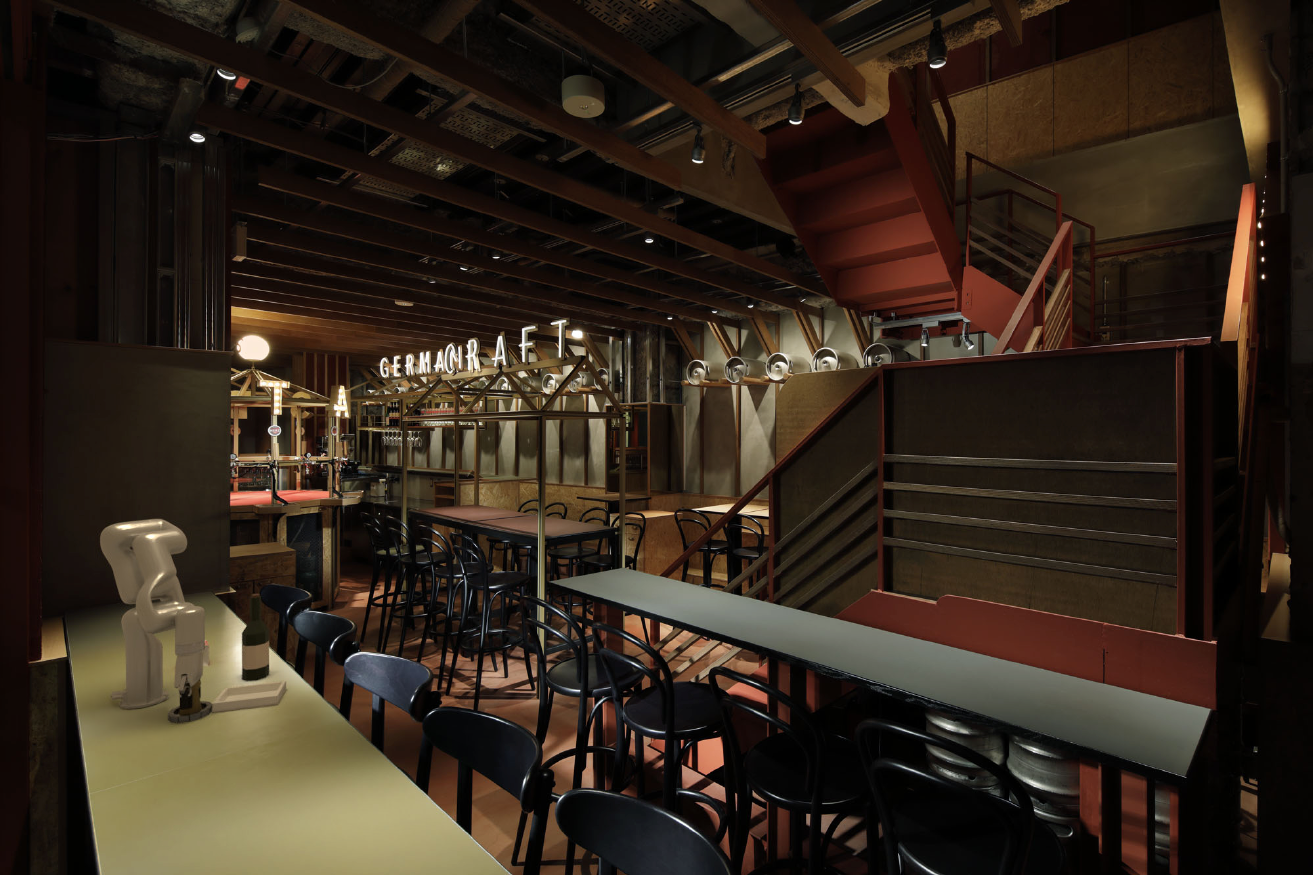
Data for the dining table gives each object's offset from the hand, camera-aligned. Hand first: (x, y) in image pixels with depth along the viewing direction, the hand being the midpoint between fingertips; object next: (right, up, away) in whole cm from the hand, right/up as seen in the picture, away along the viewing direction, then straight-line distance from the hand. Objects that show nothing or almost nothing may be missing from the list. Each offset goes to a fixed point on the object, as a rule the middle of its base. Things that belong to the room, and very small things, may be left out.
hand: (190, 703), depth 198 cm
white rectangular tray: (+12, -4, +11) cm, 17 cm away
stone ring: (0, -4, 0) cm, 4 cm away
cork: (0, -4, 0) cm, 4 cm away
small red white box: (-30, -4, +43) cm, 52 cm away
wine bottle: (+1, -4, +31) cm, 31 cm away
